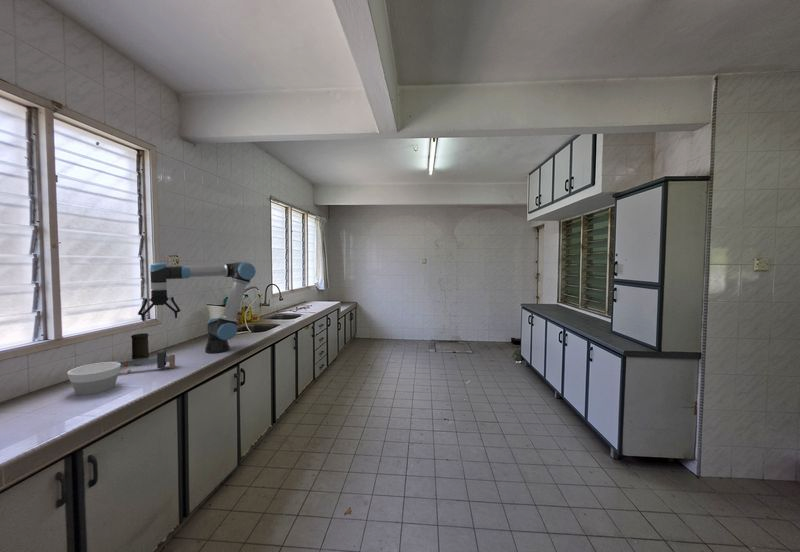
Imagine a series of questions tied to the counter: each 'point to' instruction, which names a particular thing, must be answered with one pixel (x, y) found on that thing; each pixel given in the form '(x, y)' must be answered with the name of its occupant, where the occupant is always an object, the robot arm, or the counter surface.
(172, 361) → the bar
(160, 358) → the collar
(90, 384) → the bowl
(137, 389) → the counter surface
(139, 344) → the container
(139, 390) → the counter surface
